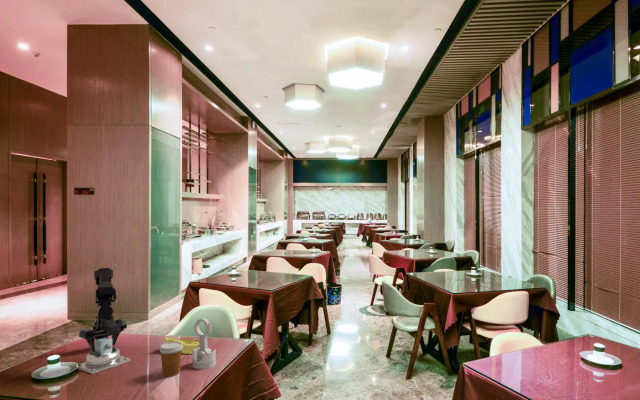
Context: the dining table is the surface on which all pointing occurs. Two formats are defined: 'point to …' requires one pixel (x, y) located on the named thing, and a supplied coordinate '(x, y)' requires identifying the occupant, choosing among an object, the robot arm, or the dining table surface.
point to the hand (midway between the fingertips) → (103, 348)
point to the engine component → (203, 348)
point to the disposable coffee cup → (171, 358)
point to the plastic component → (185, 344)
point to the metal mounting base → (102, 361)
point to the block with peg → (103, 346)
